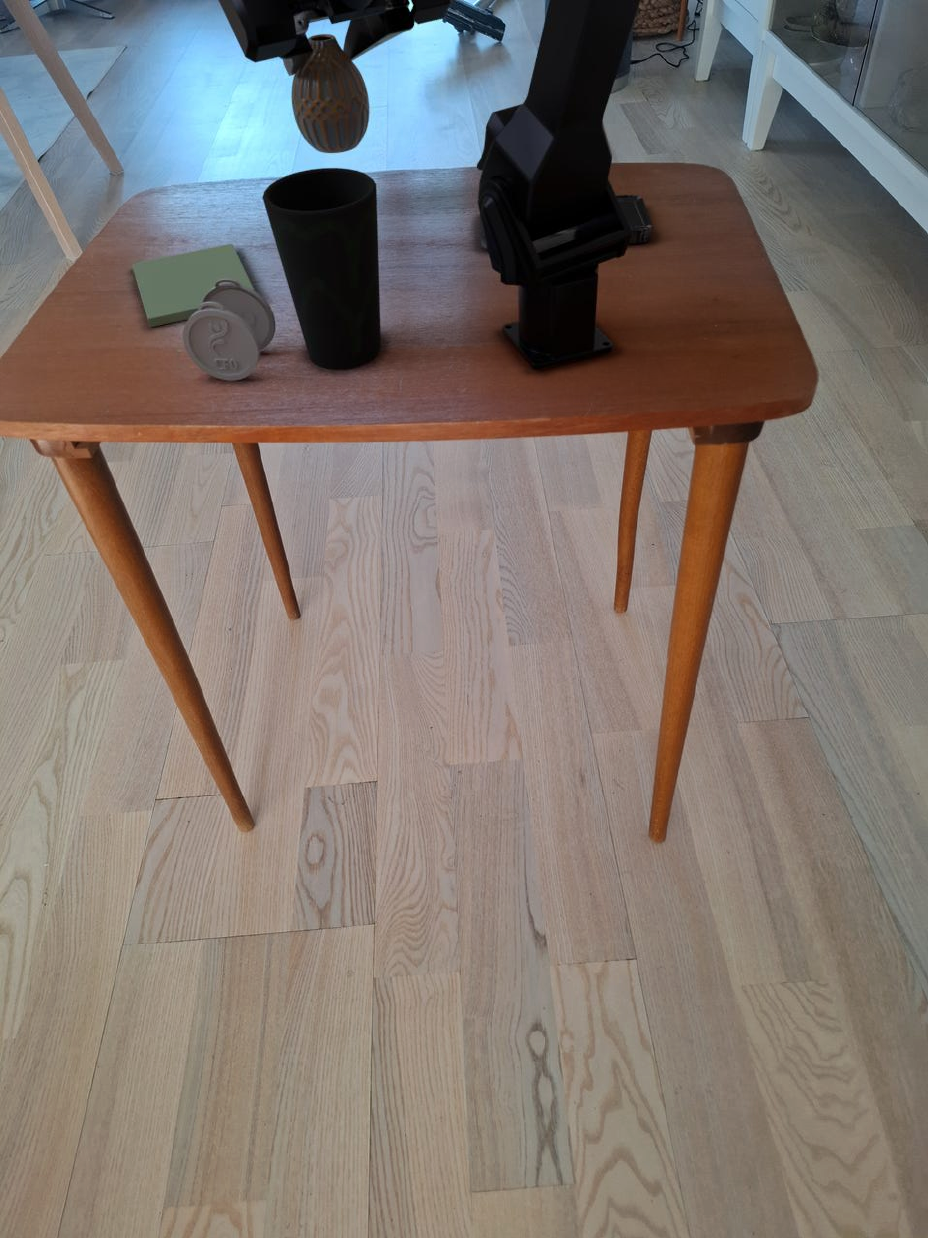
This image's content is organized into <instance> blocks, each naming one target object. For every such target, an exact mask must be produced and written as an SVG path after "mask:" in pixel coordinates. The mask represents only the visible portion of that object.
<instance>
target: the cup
mask: <svg viewBox="0 0 928 1238" xmlns="http://www.w3.org/2000/svg"><path fill="white" fill-rule="evenodd" d="M377 196H378V193H377V183H376V182H375V180H374V178H372V177H371V176H370V175H369V174H367V173H364V172H362V171H360V170H354V169H350V168H341V167H321V168H313V169H306V170H302V171H297V172H294V173H291V174H287V175H285V176H282V177H281V178H278V179H276V180H275V181H274V182H271V184H269V185H268V186H267V188H265V190H264V191H263V194H262V200H263V205H264V207H265V211H266V212H265V213H266V215H267V218H268V221H269V225H270V228H271V231H272V235H273V238H274V242H275V245H276V249H277V252H278V255H279V259H280V262H281V265H282V270H283V272H284V276H285V279H286V283H287V286H288V290H289V293H290V296H291V299H292V303H293V306H294V309H295V313H296V316H297V319H298V323H299V327H300V330H301V334H302V336H303V340H304V343H305V347H306V350H307V353H308V357H309V359H310V361H311V362H312V363H313V364H314V365H316V366H317V367H320V368H323V369H328V370H334V371H337V370H339V371H343V370H351V369H356V368H359V367H363V366H365V365H367V364H369V363H370V362H372V361H374V360H375V359H376V358H377V357H378V356H379V355H380V353H381V350H382V335H381V334H382V333H381V331H382V330H381V302H380V301H381V300H380V267H379V266H380V265H379V260H380V259H379V229H378V227H379V226H378V225H379V224H378V197H377Z"/></svg>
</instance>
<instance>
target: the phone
mask: <svg viewBox="0 0 928 1238" xmlns="http://www.w3.org/2000/svg"><path fill="white" fill-rule="evenodd" d="M615 195H616V194H615ZM616 197H617V199H618V202H619V204H620V206H621V208H622V210H623V213H624V215H625V217H626V219H627V221H628V224H629V226H630V228H631V230H632V237H631V239H630V242H629V244H641V243H645V242H648V241H650V239H651V238H652V237H651V236H652V221H651V218H650V215H649V211H648V208H647V206H646V203H645V201H644V199H643V197H642V196H640V195H636V194H617V195H616ZM479 225H480V226H479V227H480V228H479V229H480V246H481V248H483V249H484V250H487V251H488V248H487V243H486V239H485V234H484V230H483V225H482V220H481V216H480V215H479ZM575 230H577V229H576V226H575V227H572V228H569V229H567V230H564V231H561V232H558V233H555V234H553V235H550V236H547V237H544V238H541V239H539V240H536V241H533V245H536V244H539V243H541V242H544V241H547V240H550V239H553V238H555V237H558V236H561V235H564V234H567V233H569V232H572V231H575Z"/></svg>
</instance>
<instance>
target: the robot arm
mask: <svg viewBox="0 0 928 1238" xmlns="http://www.w3.org/2000/svg"><path fill="white" fill-rule="evenodd" d="M217 1H218V3H219V5H220V7H221V9H222V11H223V13H224V16H225V17H226V19H227V20H226V21H228V24H229V25H230V28H231V30H232V32H233V34H234V36H235V38H236V40H237V43H238V45H239V47H240V49H241V51H242V53H243V56H244V57H245V58H246V59H248V60H249V61H251V62H253V63H259V62H263V61H269V60H273V59H277V58H279V59H281V60H282V62H283V66H284V68H285V71H286V73H287V75H288V76H289V77H292V76H294V75H295V73H296V72H297V71H298V70H299V69H300V68H301V66H302V65H303V64H304V63H305V61H306V60H307V59H308V58H309V56H310V55H311V54H312V53H313V49H312V47H311V45H310V42H309V40H308V38H309V37H308V36H307V32H308V30H309V27H310V24H311V23H316V22H321V21H325V20H326V21H327V20H329V22H330V24H331V25H336V24H339V23H340V24H341V23H344V22H345V23H346V22H348V21H349V24H348V27H347V30H346V34H345V37H344V43H343V48H342V50H343V51H344V52H345V54H346V55H347V56H348V57H349V58H350V59H351V61H352V62H353V61H354V60H357V59H358V58H360V57H362V56H364V55H365V54H367V53H368V52H370V51H372V50H373V49H375V48H377V47H378V46H380V45H382V44H384V43H386V42H388V41H390V40H392V39H394V38H395V37H398V36H399V35H401V34H403V33H406V32H410V31H412V29H413V28H414V27H415V23H416V24H417V25H422V24H427V23H430V22H435V21H440V20H444V18H445V16H446V15H447V12H448V10H449V9H450V8H449V7H450V6H451V3H452V0H217ZM640 3H641V0H549V2H548V5H547V11H546V14H545V18H544V22H543V23H544V24H543V27H542V32H541V36H540V40H539V44H538V48H537V52H536V57H535V60H534V61H535V62H534V65H533V70H532V74H531V78H530V81H529V82H530V83H529V87H528V91H527V95H526V97H525V99H524V101H523V102H522V103H520V104H516V105H514V106H513V105H512V106H510V107H507V108H503V109H500V110H499V109H498V110H496V111H493V112H492V113H491V114H490V116H489V118H488V121H487V123H486V125H485V134H484V145H483V150H482V153H481V157H480V158H479V160H478V162H477V163H476V169H477V170H478V171H481V175H480V178H479V182H478V192H477V206H478V211H479V217H480V216H481V220H482V225H483V230H484V234H485V239H486V243H487V248H488V250H487V252H488V258H489V260H490V265H491V268H492V270H493V271H495V272H497V273H498V274H500V275H499V277H500V278H499V279H500V280H499V281H500V283H502V284H503V285H505V286H516V287H517V290H518V291H517V292H518V293H517V294H518V297H517V298H518V303H517V304H518V306H517V307H518V310H517V311H518V312H517V313H518V321H514V322H510V323H506V324H503V325H502V326H501V331H502V335H504V337H505V338H506V339H507V340H508V342H509V343H510V344H511V345H512V346H513V347H514V348H515V350H516V351H517V352H518V354H519V355H520V356H521V357H522V358H523V359H524V360H525V362H526V363H527V364H528V365H529V367H531V368H532V369H533V370H537V371H539V370H544V369H547V368H551V367H556V366H559V365H565V364H567V363H571V362H572V363H573V362H575V361H580V360H584V359H587V358H591V357H595V356H599V355H604V354H608V353H611V352H612V351H613V347H614V343H613V342H612V340H610V339H609V338H608V336H606V335H605V333H603V332H602V331H601V330H600V329H599V328H598V326H596V322H597V308H598V307H597V306H598V287H599V266H600V264H602V263H605V262H608V261H611V260H614V259H619V258H623V257H624V256H625V255H626V253H627V250H628V247H629V244H630V243H629V242H630V239H631V237H632V230H631V228H630V226H629V224H628V221H627V219H626V217H625V215H624V213H623V210H622V208H621V206H620V204H619V202H618V199H617V197H616V193H615V190H614V188H613V186H612V184H611V182H610V180H609V177H610V171H611V167H612V163H613V162H612V161H613V153H612V149H611V145H610V142H609V139H608V136H607V132H606V129H605V128H606V127H605V124H604V118H605V117H604V116H605V113H606V109H607V106H608V103H609V100H610V97H611V94H612V91H613V88H614V84H615V81H616V78H617V75H618V72H619V68H620V65H621V62H622V59H623V56H624V52H625V50H626V46H627V43H628V40H629V37H630V35H631V31H632V28H633V25H634V21H635V18H636V16H637V12H638V9H639V6H640ZM410 4H412V7H411V9H410V8H409V6H410ZM575 226H576V229H577V230H575V231H572V232H569V233H567V234H564V235H561V236H558V237H555V238H553V239H550V240H547V241H544V242H541V243H539V244H536V245H533V241H536V240H539V239H541V238H544V237H547V236H550V235H553V234H555V233H558V232H561V231H564V230H567V229H569V228H572V227H575Z"/></svg>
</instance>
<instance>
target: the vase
mask: <svg viewBox="0 0 928 1238" xmlns="http://www.w3.org/2000/svg"><path fill="white" fill-rule="evenodd" d="M307 38H308V40H309V42H310V45H311V47H312V49H313V53H312V54H311V55H310V56H309V58H308V59H307V60H306V61H305V63H304V64H303V65H302V66H301V68H300V69H299V70H298V71H297V72H296V73H295V74H294V75H293V79H292V83H291V106H292V107H291V108H292V112H293V117H294V121H295V123H296V126H297V128H298V131H299V132H300V134H301V136H302V137H303V139H304V140H305V142H307V143H308V144H309V146H311V147H312V148H313V149H314V150H316V151H317V152H320V153H323V154H340V153H346V152H349V151H352V150H354V149H356V148H357V147H358V146H359V145H360V143H361V142H362V140H363V139H364V137H365V135H366V133H367V131H368V126H369V121H370V113H371V111H370V100H369V98H370V97H369V92H368V88H367V85H366V82H365V80H364V78H363V75H362V73H361V72H360V69H359V68H358V67H357V65H356V64H355V63H354V62H353V61H351V59H350V58H349V57H348V56H347V55H346V54H345V52H344V51H343V48H342V47H341V46H340V44H339V42H338V40H337V37H336V36H335V35H334V34H330V33H321V34H314V35H312V36H309V37H307Z"/></svg>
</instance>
